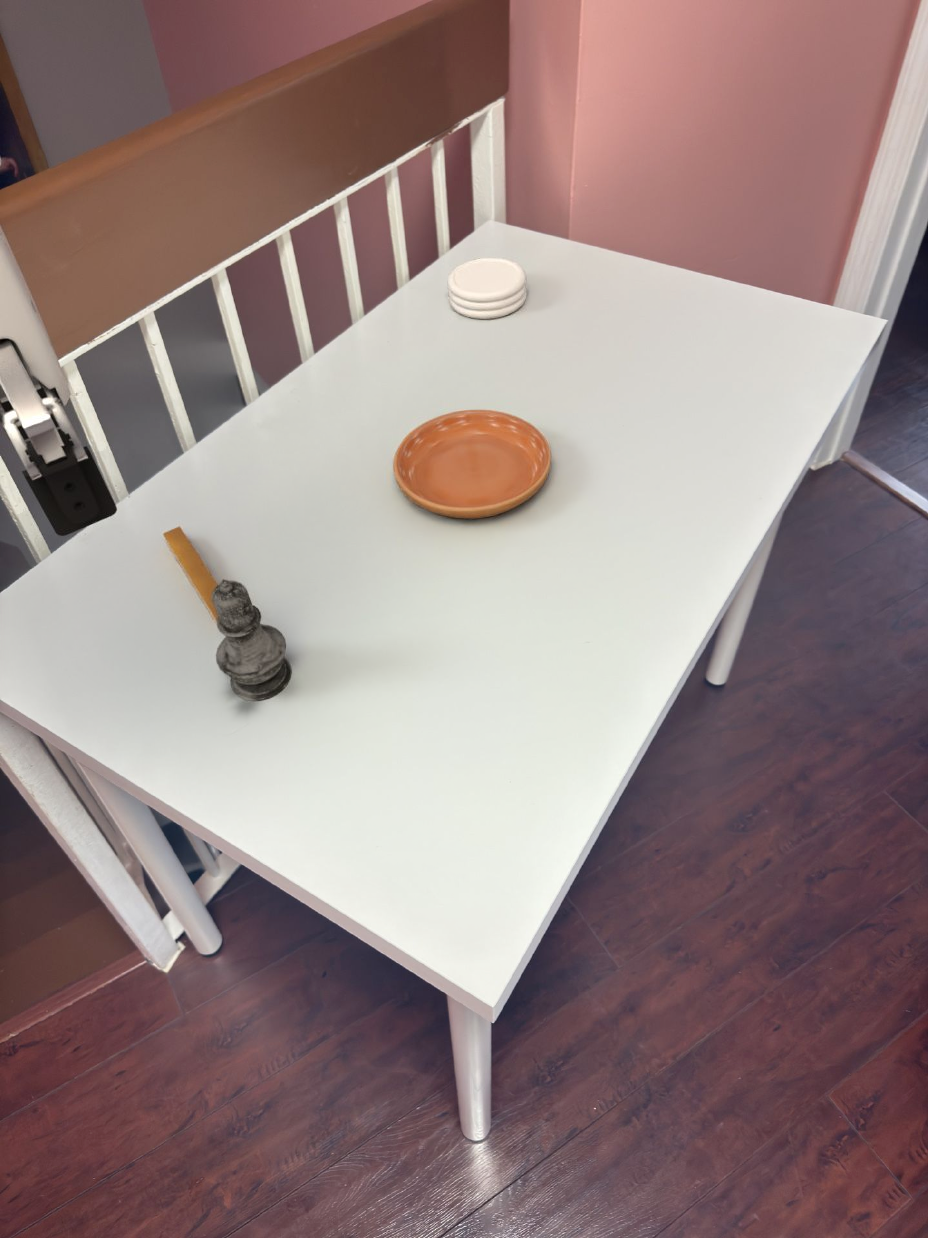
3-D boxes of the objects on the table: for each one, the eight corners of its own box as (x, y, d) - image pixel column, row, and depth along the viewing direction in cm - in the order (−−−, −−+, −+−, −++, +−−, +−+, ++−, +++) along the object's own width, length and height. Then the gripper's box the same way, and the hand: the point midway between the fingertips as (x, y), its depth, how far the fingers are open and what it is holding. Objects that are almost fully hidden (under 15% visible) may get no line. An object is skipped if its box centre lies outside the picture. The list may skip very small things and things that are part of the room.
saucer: (575, 505, 90) (575, 482, 88) (420, 548, 88) (417, 525, 85) (519, 417, 101) (518, 394, 98) (380, 453, 98) (376, 430, 96)
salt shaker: (260, 715, 76) (220, 619, 67) (213, 683, 78) (168, 587, 70) (309, 669, 79) (277, 571, 70) (261, 640, 81) (225, 542, 72)
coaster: (441, 318, 116) (438, 293, 113) (459, 279, 122) (456, 254, 119) (519, 322, 114) (518, 296, 111) (532, 282, 120) (532, 256, 117)
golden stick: (221, 631, 82) (215, 618, 81) (168, 546, 91) (162, 533, 89) (239, 623, 83) (234, 609, 82) (185, 538, 91) (179, 525, 90)
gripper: (-226, 113, 41) (-41, 425, 54) (-182, 251, 31) (34, 597, 44) (-57, 70, 43) (83, 379, 56) (36, 185, 33) (181, 532, 46)
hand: (61, 474), depth 50 cm, fingers open, 9 cm apart
